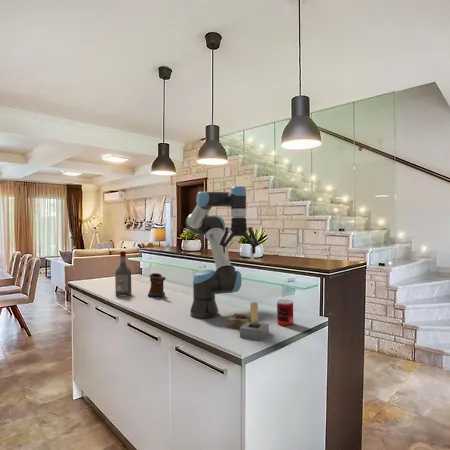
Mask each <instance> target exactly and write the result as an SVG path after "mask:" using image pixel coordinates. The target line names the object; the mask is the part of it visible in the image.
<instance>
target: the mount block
mask: <svg viewBox="0 0 450 450" xmlns="http://www.w3.org/2000/svg"><path fill="white" fill-rule="evenodd" d="M247 321H249V322H251V314H245V313H237V312H236V313H234V314H233V315H231V316H229V317H228V318H227V328H231V329H237V330H238V329H239V330H240V327H242V326H243V325H244V324H245V323H246V322H247Z"/></svg>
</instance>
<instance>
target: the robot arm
mask: <svg viewBox="0 0 450 450" xmlns="http://www.w3.org/2000/svg"><path fill="white" fill-rule="evenodd" d="M246 190H247V189H246V187H245V186H241V185H240V186H239V185H237V186H235V185H234V186H231V188H230V191H228V192H227V191H226V192H225V191H198V192H197V194H196V199H195V200H196V206H195V207H194V208H193V210H192V212H191V213H190V214H189V215H188V216H187V218H186V219H185V226H186V229H188V230H189V232H190V233H192V234H194V235H199V236H200V235H201V236H202V235H204V236H205V238H206V239H207V240H208V242H209V246H210V249H211V253H212V257H213V260H214V264H215V268H216V269H215V270H214V269H205V270H199V271H197V272H194V274H193V276H192V277H193V279H192V286H193V288H192V289H193V290H192V291H193V293H192V296H193V301H192V305H191V307H190V316H191V317H192V318H196V319H211V318H215V317H217V316H219V308H218V304H217V302H216V295H221V294H233V293H238V292H239V291H240V290H241V287H242V273H241V271H239V270H236V268H235V266H234V265H232V264H231V260H230V257H229V246H228V245H229V244H230V242H232V240H233V239H234V238H235V237H244V239H245V240H246V241H247V242H248V243H249V245H250V246H251V247H250V253H249V254H250V261H251V262H252V261H254V258H255V254H256V248H257V247H259V246H260V243H259V241H258V238H257V236H256V235H255V232H254V229H253V227H252V226H249V227H247V218H246V217H247V191H246ZM213 207H221V208H222V207H224V208H225V207H227V208H230V209H231V211H230V216H231V221H230V223H231V226H230V227H229V226H225V220H224V218H223V217H221V216H219V215H211V216H210V215H208V213H209V211H210V210H212V208H213ZM230 232H231V234H230V235H229V233H230ZM247 232H248V233H249V234H248V233H247ZM228 235H229V237H228ZM227 237H228V238H227ZM250 237H251V238H250Z"/></svg>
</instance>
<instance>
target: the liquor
mask: <svg viewBox="0 0 450 450" xmlns="http://www.w3.org/2000/svg"><path fill="white" fill-rule="evenodd" d="M126 256H127V254H126V251H123V250H122V251H120V252H119V259H120V262H119V263H120V264H119V266H118V267H117V269H115V271H114V275H115V278H114V279H115V281H114V282H115V283H114V284H115V295H116V296H117V295H127V296H129V295H128V294H130V293H131V294H132V270H131V269H130V267H129V266H127V263H126ZM131 294H130V295H131Z"/></svg>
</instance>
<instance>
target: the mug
mask: <svg viewBox="0 0 450 450" xmlns="http://www.w3.org/2000/svg"><path fill="white" fill-rule="evenodd" d="M149 278H150V279H149V281H150V287H149V288H150V289H149V291H148V292H147V297H148V298H151V297H152V299H155V298H156V299H157V297H158V298H161V299H163V297H165V295H166V293H165V291H164V281H165V280H166V279H167V278H166V277H165V276H163V275H162V274H161V273H156V272H153V273H151V274H149Z"/></svg>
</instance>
